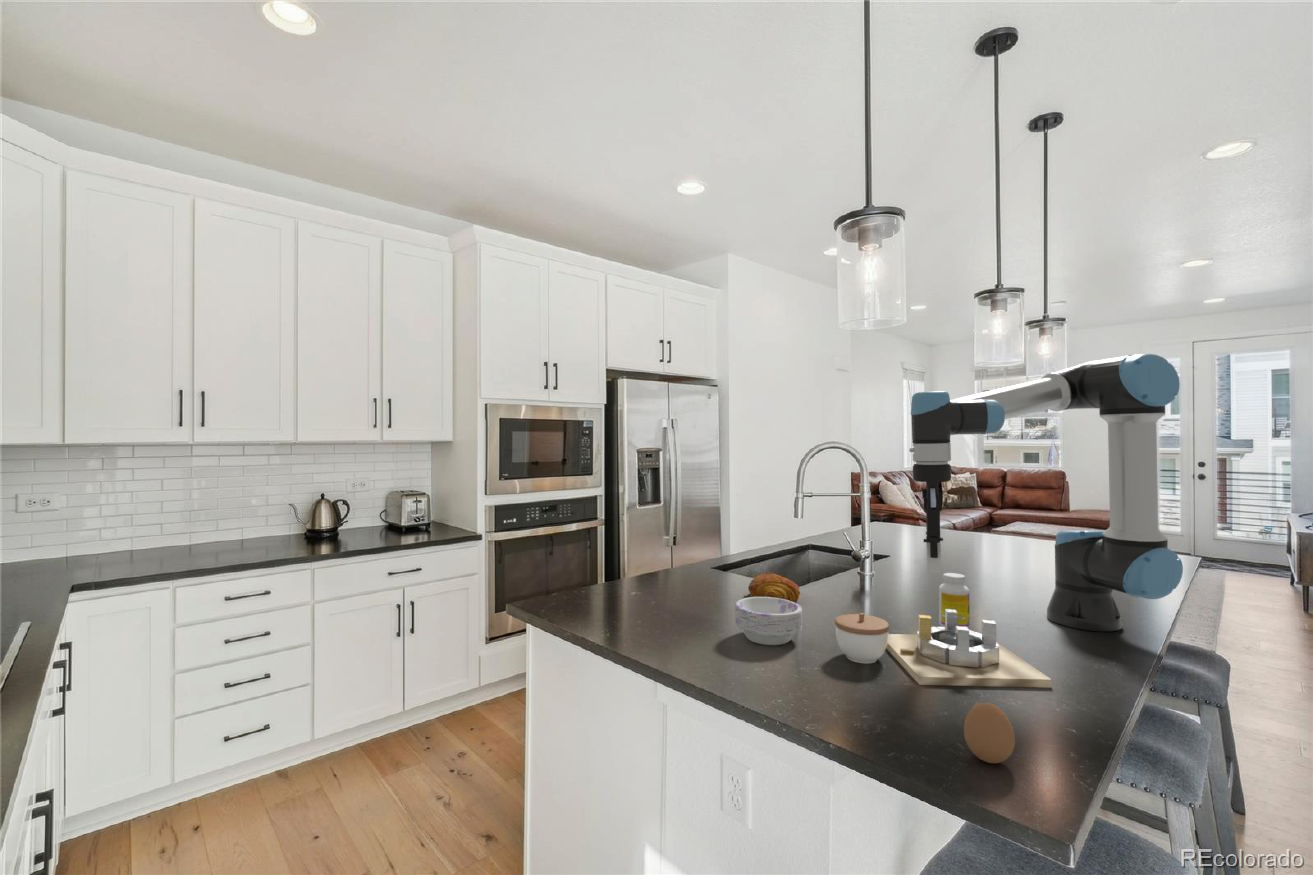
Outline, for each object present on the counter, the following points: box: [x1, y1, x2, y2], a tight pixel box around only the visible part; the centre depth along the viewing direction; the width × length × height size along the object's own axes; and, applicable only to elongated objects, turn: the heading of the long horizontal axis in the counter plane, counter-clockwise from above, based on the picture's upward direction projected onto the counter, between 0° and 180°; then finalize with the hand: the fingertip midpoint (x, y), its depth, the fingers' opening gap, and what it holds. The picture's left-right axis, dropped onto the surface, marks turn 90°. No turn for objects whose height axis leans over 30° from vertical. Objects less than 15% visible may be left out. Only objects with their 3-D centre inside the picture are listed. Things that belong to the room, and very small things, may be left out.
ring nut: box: [916, 609, 999, 667], centre depth 123 cm, size 14×14×7 cm
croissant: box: [747, 573, 801, 603], centre depth 170 cm, size 14×16×8 cm
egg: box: [963, 702, 1016, 764], centre depth 86 cm, size 6×6×8 cm
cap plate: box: [886, 633, 1053, 689], centre depth 123 cm, size 24×24×2 cm
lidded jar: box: [834, 612, 890, 665], centre depth 125 cm, size 11×11×9 cm
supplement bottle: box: [938, 572, 970, 630], centre depth 145 cm, size 7×7×13 cm
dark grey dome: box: [939, 632, 974, 647], centre depth 123 cm, size 6×6×4 cm
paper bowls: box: [734, 596, 803, 646], centre depth 137 cm, size 15×15×8 cm
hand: (934, 571), depth 129 cm, fingers closed
